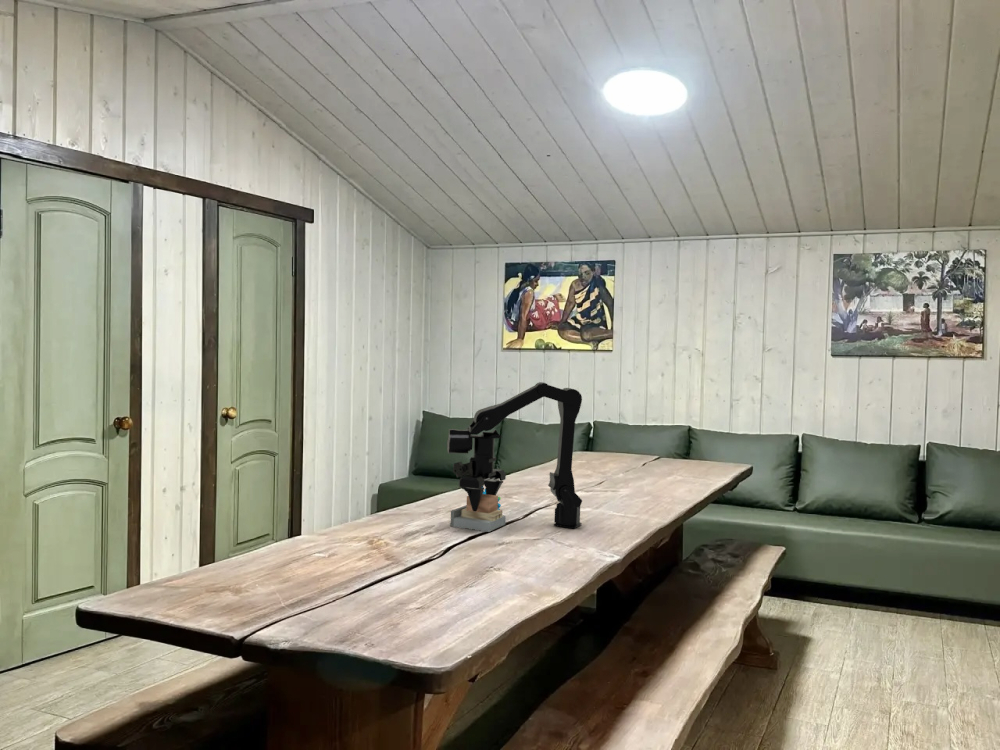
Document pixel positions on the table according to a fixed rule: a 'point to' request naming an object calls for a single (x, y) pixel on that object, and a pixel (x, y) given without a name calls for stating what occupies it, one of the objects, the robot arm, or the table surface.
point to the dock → (474, 521)
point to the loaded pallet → (479, 515)
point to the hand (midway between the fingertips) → (482, 508)
